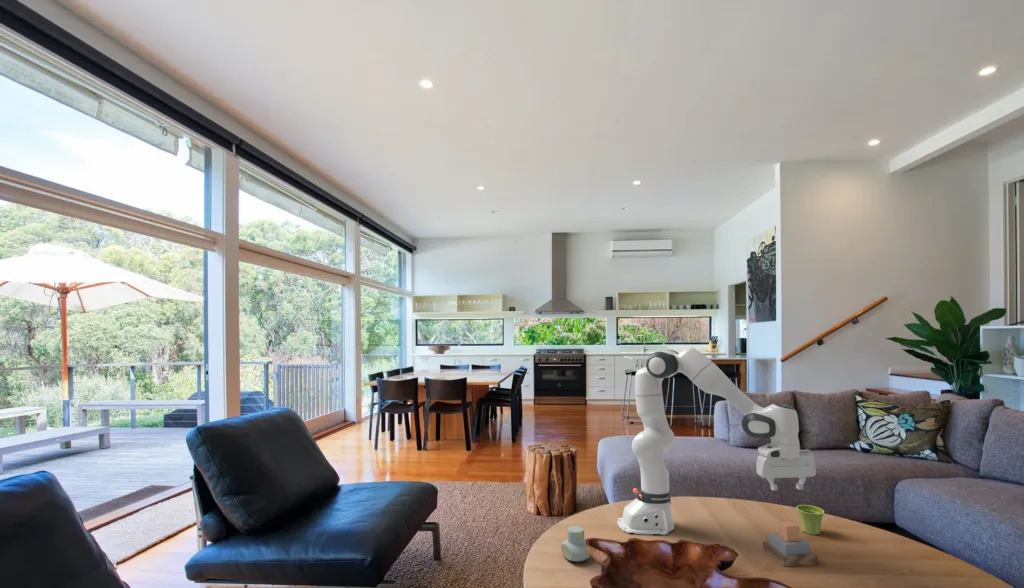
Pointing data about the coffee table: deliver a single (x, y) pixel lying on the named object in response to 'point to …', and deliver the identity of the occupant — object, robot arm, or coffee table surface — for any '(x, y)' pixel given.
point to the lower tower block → (790, 557)
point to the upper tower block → (789, 545)
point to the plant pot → (810, 518)
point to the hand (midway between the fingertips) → (786, 489)
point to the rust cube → (788, 531)
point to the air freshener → (575, 545)
